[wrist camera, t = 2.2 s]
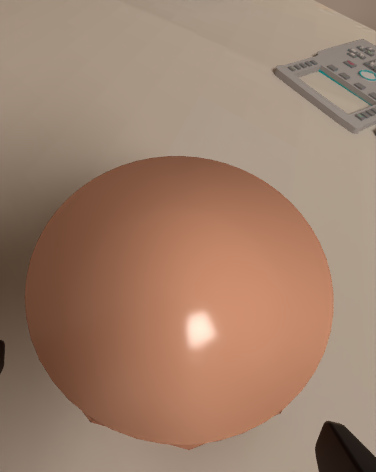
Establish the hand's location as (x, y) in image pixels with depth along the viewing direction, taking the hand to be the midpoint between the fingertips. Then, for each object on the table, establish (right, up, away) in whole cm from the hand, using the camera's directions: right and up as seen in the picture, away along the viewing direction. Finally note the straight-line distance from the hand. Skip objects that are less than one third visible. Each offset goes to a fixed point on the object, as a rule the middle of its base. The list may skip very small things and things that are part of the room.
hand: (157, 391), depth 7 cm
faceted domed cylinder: (0, -3, +10) cm, 10 cm away
